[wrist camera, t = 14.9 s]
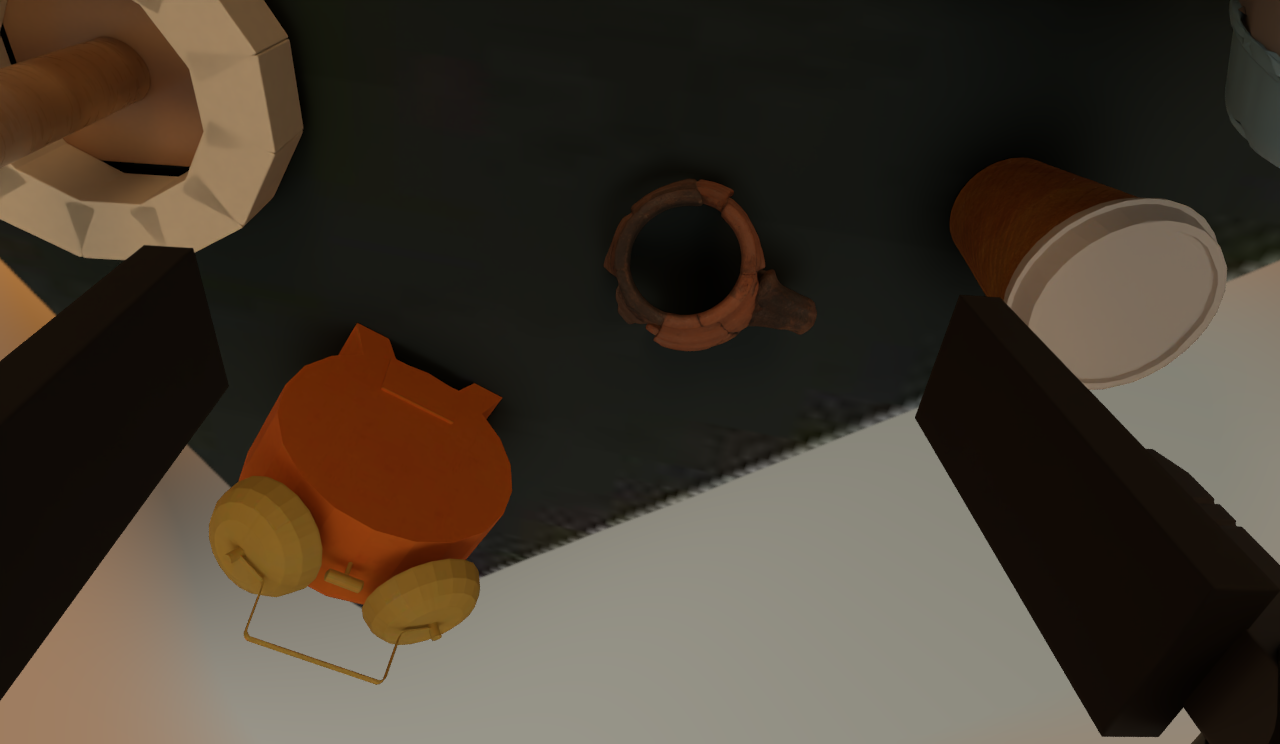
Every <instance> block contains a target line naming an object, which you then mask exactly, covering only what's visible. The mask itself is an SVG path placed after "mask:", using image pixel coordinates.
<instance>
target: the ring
mask: <svg viewBox="0 0 1280 744" xmlns="http://www.w3.org/2000/svg"><path fill="white" fill-rule="evenodd" d="M132 1H134V2H136V3H137V4H139V5H140V6H141V7H142V8H143V10H144V11H145V12H146V13H147V15H148V16H149V17H150V19H151V20H152V21H153V23H154V24H155V25H156V26H157V28H158V29H159V30H160V32H161V33H162V34H163V35H164V37H165V38H166V39H167V41H168V42H169V43H170V45H171V46H172V47H173V48H174V50H175V51H176V52H177V54H178V55H179V56H180V58H181V59H182V60H183V61H184V63H185V64H186V65H187V67H188V68H189V70H190V75H191V79H192V83H193V88H194V92H195V96H196V101H197V105H198V109H199V114H200V118H201V122H202V127H203V131H204V132H203V134H202V137H201V140H200V142H199V145H198V147H197V150H196V153H195V155H194V158H193V161H192V163H191V166H190V168H189V171H188V172H186V173H184V174H183V175H181V176H179V177H176V176H160V175H145V174H130V173H123V172H121V171H119V170H118V169H116V168H114V167H112V166H110V165H108V164H106V163H104V162H102V161H100V160H98V159H96V158H94V157H92V156H91V155H89V154H87V153H85V152H83V151H81V150H79V149H77V148H75V147H73V146H71V145H69V144H67V143H66V142H65V140H64V139H63V138H62V139H60V140H58V141H56V142H54V143H52V144H50V145H48V146H46V147H43V148H41V149H39V150H37V151H35V152H33V153H31V154H29V155H27V156H25V157H23V158H21V159H19V160H17V161H15V162H13V163H11V164H8V165H6V166H4V167H2V168H0V219H1V220H3V221H5V222H7V223H9V224H12V225H14V226H16V227H18V228H20V229H22V230H24V231H26V232H29V233H31V234H33V235H35V236H37V237H39V238H41V239H43V240H45V241H48V242H50V243H52V244H54V245H56V246H58V247H60V248H62V249H64V250H67V251H69V252H71V253H73V254H75V255H77V256H79V257H82V256H83V257H84V258H96V259H114V260H126V259H127V258H129V257H130V256H131V255H132V254H134V253H135V252H136V251H137V250H138V249H140V248H141V247H142V246H143V245H152V246H168V247H185V248H193V249H194V253H195V252H197V251H199V250H201V249H203V248H205V247H207V246H208V245H210V244H212V243H214V242H216V241H218V240H220V239H222V238H224V237H226V236H228V235H230V234H232V233H234V232H235V231H237V230H239V229H241V228H243V227H244V226H245V225H246V224H247V223H248V222H249V221H250V220H251V219H252V218H253V217H254V216H255V215H256V214H257V213H258V212H259V211H260V210H261V209H262V208H263V207H264V206H265V205H266V204H267V203H268V202H269V201H270V200H271V199H272V198H273V197H274V195H275V193H276V191H277V188H278V186H279V184H280V182H281V180H282V177H283V175H284V173H285V171H286V168H287V166H288V164H289V162H290V160H291V157H292V155H293V153H294V151H295V149H296V146H297V144H298V142H299V140H300V138H301V135H302V133H303V131H302V129H303V122H302V115H301V109H300V103H299V97H298V90H297V84H296V78H295V71H294V65H293V59H292V52H291V46H290V40H289V39H286V38H288V35H287V34H286V32H285V31H284V29H283V28H282V26H281V25H280V23H279V22H278V21H277V19H276V18H275V16H274V15H273V13H272V12H271V10H270V9H269V7H268V6H267V4H266V3H265V1H264V0H132ZM6 4H7V0H0V31H1V26H2V22H3V18H4V13H5V9H6ZM10 65H11V63H10V60H9V57H8V54H7V51H6V49H5V46H4V43H3V40H2V37H1V35H0V68H3V67H7V66H10Z"/></svg>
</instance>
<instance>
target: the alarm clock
mask: <svg viewBox="0 0 1280 744" xmlns="http://www.w3.org/2000/svg"><path fill="white" fill-rule="evenodd" d="M501 399H502V397H500V396H498V395H496V394H494V393H492V392H490V391H489V390H487V389H485V388H483V387H481V386H479V385H477V384H475V383H474V384H472V385H470V386H468V387H466V388H464V389H462V390H460V391H458V390H456V389H454V388H452V387H450V386H448V385H447V384H445V383H443V382H442V381H440V380H439V379H437V378H435V377H434V376H432V375H431V374H429V373H427V372H424V371H422V370H419V369H417V368H414V367H412V366H409V365H407V364H405V363H403V362H401V361H399V360H397V359H396V357H395V355H394V352H393V349H392V346H391V343H390V340H389V339H388V338H386V337H384V336H382V335H380V334H378V333H376V332H374V331H372V330H370V329H368V328H366V327H365V326H363V325H361V324H359V323H357V324H356V326H355V327H354V329H353V331H352V332H351V334H350V336H349V338H348V339H347V341H346V343H345V344H344V346H343V348H342V350H341V351H340V353H339V355H338V356H330V357H327V358H325V359H322V360H319V361H317V362H314V363H311V364H309V365H306V366H304V367H303V368H302V369H301V370H300V371H299V372H298V373H297V374H296V375H295V376H294V377H293V378H292V379H291V380H290V381H289V382H288V383H287V384H286V385H285V387H284V388H283V390H282V392H281V394H280V396H279V397H278V399H277V401H276V403H275V405H274V406H273V408H272V410H271V412H270V414H269V415H268V417H267V419H266V421H265V423H264V424H263V426H262V428H261V430H260V432H259V433H258V435H257V437H256V439H255V441H254V442H253V444H252V446H251V448H250V450H249V451H248V454H247V457H246V460H245V463H244V466H243V469H242V472H241V475H240V478H239V482H238V483H236V484H235V485H234V486H233V487H231V488H230V489H229V490H228V491H227V492H226V493H224V495H223V496H222V497H221V498H220V499H219V500H218V501H217V504H216V506H215V509H214V511H213V514H212V517H211V521H210V523H209V540H210V543H211V547H212V551H213V554H214V556H215V558H216V560H217V562H218V564H219V566H220V567H221V569H222V570H223V571H224V572H225V574H226V575H227V576H228V578H229V579H230V580H232V581H233V582H234V583H235V584H236V585H238V586H239V587H240V588H242V589H244V590H246V591H248V592H250V593H253V594H258V597H257V599H256V602H255V604H254V607H253V610H252V612H251V615H250V618H249V620H248V623H247V626H246V628H245V631H244V637H245V639H246V640H247V641H249V642H252V643H255V644H258V645H261V646H264V647H267V648H270V649H273V650H276V651H279V652H282V653H285V654H288V655H290V656H294V657H296V658H300V659H302V660H305V661H308V662H311V663H314V664H317V665H320V666H323V667H326V668H329V669H332V670H335V671H338V672H341V673H344V674H347V675H350V676H353V677H356V678H358V679H362V680H365V681H368V682H370V683H373V684H376V685H377V684H380V683H382V682H383V680H384V679H385V678H386V677H387V674H388V671H389V668H390V665H391V662H392V659H393V657H394V654H395V651H396V648H397V645H405V644H413V643H417V642H421V641H425V640H429V639H432V641H435V640H438V639H440V638H441V634H443V633H445V632H447V631H448V630H450V629H452V628H453V627H455V626H456V625H458V624H459V623H461V622H462V621H463V620H464V619H465V618H466V617H467V616H469V615H470V613H471V612H472V610H473V609H474V607H475V604H476V602H477V599H478V596H479V591H480V584H479V583H480V582H479V572H478V569H477V568H476V566H475V565H474V563H471V562H469V561H466V559H467V557H468V556H469V555H470V554H471V553H472V551H473V550H474V549H475V548H476V547H477V545H478V544H479V543H480V542H481V541H482V539H483V538H484V537H485V536H486V534H487V533H488V532H489V531H490V530H491V528H492V527H493V526H494V525H495V524H496V522H497V521H498V520H499V519H500V518H501V516H502V515H503V513H504V511H505V508H506V506H507V503H508V500H509V498H510V495H511V492H512V482H511V465H510V462H509V460H508V457H507V455H506V452H505V450H504V447H503V445H502V442H501V440H500V438H499V437H498V435H497V434H496V432H495V431H494V430H493V428H492V427H491V426H490V424H489V423H488V421H487V420H486V419H487V418H488V416H489V415H490V414H491V412H492V411H493V410H494V408H495V407H496V406H497V404H498V403H499V402H500V400H501ZM307 586H309V587H310V588H312V589H314V590H316V591H318V592H320V593H322V594H324V595H326V596H329V597H333V598H338V599H341V600H346V601H350V602H354V603H359V604H363V607H362V612H363V618H364V620H365V622H366V623H367V625H368V627H369V628H370V630H371V631H372V633H374V634H375V635H376V636H377V637H379V638H381V639H382V640H384V641H386V642H388V643H391V644H395V647H394V649H393V652H392V655H391V658H390V661H389V664H388V667H387V669H386V672H385V675H384V678H383V679H382V680H377V679H374V678H371V677H368V676H365V675H362V674H359V673H356V672H353V671H350V670H347V669H344V668H342V667H338V666H336V665H333V664H330V663H327V662H324V661H321V660H318V659H315V658H312V657H309V656H306V655H303V654H300V653H298V652H295V651H292V650H289V649H286V648H283V647H280V646H277V645H274V644H271V643H268V642H265V641H262V640H259V639H257V638H254V637H250V636H249V634H248V632H247V629H248V626H249V623H250V620H251V618H252V615H253V613H254V610H255V607H256V604H257V602H258V599H259V596H260V595H264V596H271V597H279V596H282V595H285V594H289V593H292V592H295V591H298V590H301V589H304V588H306V587H307Z"/></svg>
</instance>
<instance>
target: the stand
mask: <svg viewBox="0 0 1280 744" xmlns="http://www.w3.org/2000/svg"><path fill="white" fill-rule="evenodd" d="M3 25H4V28H5V31H6V34H7V37H8V40H9V43H10V46H11V48H12V51H13V54H14V57H15V60H16V64H13V65H10V66H7V67H3V68H0V168H2V167H4V166H6V165H8V164H11V163H13V162H15V161H17V160H19V159H21V158H23V157H25V156H27V155H29V154H31V153H33V152H35V151H37V150H39V149H41V148H43V147H46V146H48V145H50V144H52V143H54V142H56V141H58V140H60V139H62V138H63V139H64V140H65V142H66V143H67V144H69V145H71V146H73V147H75V148H77V149H79V150H81V151H83V152H85V153H87V154H89V155H91V156H92V157H94V158H96V159H98V160H101V161H116V162H130V163H144V164H158V165H173V166H187V167H190V166H191V163H192V161H193V158H194V155H195V153H196V150H197V147H198V145H199V142H200V140H201V137H202V134H203V132H204V131H203V127H202V122H201V118H200V114H199V109H198V105H197V101H196V96H195V92H194V88H193V83H192V79H191V75H190V70H189V68H188V67H187V65H186V64H185V63H184V61H183V60H182V59H181V58H180V56H179V55H178V54H177V52H176V51H175V50H174V48H173V47H172V46H171V45H170V43H169V42H168V41H167V39H166V38H165V37H164V35H163V34H162V33H161V32H160V30H159V29H158V28H157V26H156V25H155V24H154V23H153V21H152V20H151V19H150V17H149V16H148V15H147V13H146V12H145V11H144V10H143V8H142V7H141V6H140V5H139V4H137V3H136V2H134V1H132V0H7V4H6V9H5V13H4V18H3Z"/></svg>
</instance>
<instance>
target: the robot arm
mask: <svg viewBox="0 0 1280 744" xmlns="http://www.w3.org/2000/svg"><path fill="white" fill-rule="evenodd" d="M1229 16H1230V22H1231V26H1232V28H1233V35H1232V42H1231V50H1230V57H1229V64H1228V71H1227V79H1226V86H1225V103H1226V108H1227V112H1228V115H1229V118H1230V120H1231V123H1232V124H1233V126H1234V127H1235V128H1236V129H1237V130H1238V132H1239V133H1240V134H1241V135H1242V136H1243V137H1244V138H1246V139H1247V140H1248V142H1249V144H1250V146H1251V147H1252V149H1253V150H1254V151H1255V152H1257V153H1258V154H1259V155H1260V156H1262V157H1263V158H1265V159H1266V160H1268V161H1269V162H1271V163H1272V164H1274V165H1275V166H1277V167H1278V168H1280V0H1230V2H1229ZM228 387H229V385H228V381H227V377H226V373H225V369H224V366H223V362H222V358H221V354H220V350H219V346H218V342H217V338H216V334H215V331H214V327H213V323H212V319H211V315H210V311H209V307H208V303H207V300H206V296H205V292H204V288H203V284H202V280H201V276H200V272H199V268H198V265H197V261H196V257H195V253H194V249H193V248H185V247H168V246H152V245H143V246H142V247H141V248H140V249H138V250H137V251H136V252H135V253H134V254H132V255H131V256H130V257H129V258H127V259H126V260H125V261H124V262H122V263H121V264H120V265H119V266H117V267H116V268H115V269H114V270H112V271H111V272H110V273H109V274H108V275H106V276H105V277H104V278H103V279H101V280H100V281H99V282H98V283H96V284H95V285H94V286H93V287H91V288H90V289H89V290H88V291H86V292H85V293H84V294H83V295H82V296H80V297H79V298H78V299H77V300H75V301H74V302H73V303H72V304H70V305H69V306H68V307H67V308H65V309H64V310H63V311H62V312H60V313H59V314H58V315H57V316H56V317H54V318H53V319H52V320H51V321H49V322H48V323H47V324H46V325H44V326H43V327H42V328H41V329H40V330H38V331H37V332H36V333H35V334H33V335H32V336H31V337H30V338H28V339H27V340H26V341H25V342H23V343H22V344H21V345H20V346H18V347H17V348H16V349H15V350H13V351H12V352H11V353H10V354H8V355H7V356H6V357H5V358H4V359H2V360H1V361H0V700H1V699H2V698H3V696H4V695H5V693H6V692H7V691H8V689H9V688H10V687H11V685H12V684H13V682H14V681H15V680H16V678H17V677H18V676H19V674H20V673H21V671H22V670H23V669H24V667H25V666H26V665H27V663H28V662H29V660H30V659H31V658H32V656H33V655H34V653H35V652H36V651H37V649H38V648H39V647H40V645H41V644H42V643H43V641H44V640H45V638H46V637H47V636H48V634H49V633H50V632H51V630H52V629H53V627H54V626H55V625H56V623H57V622H58V621H59V619H60V618H61V616H62V615H63V614H64V612H65V611H66V610H67V608H68V607H69V605H70V604H71V603H72V601H73V600H74V599H75V597H76V596H77V594H78V593H79V591H80V590H81V589H82V587H83V586H84V585H85V583H86V582H87V581H88V579H89V578H90V576H91V575H92V574H93V572H94V571H95V570H96V568H97V567H98V566H99V564H100V563H101V561H102V560H103V559H104V557H105V556H106V555H107V553H108V552H109V550H110V549H111V548H112V546H113V545H114V544H115V542H116V541H117V539H118V538H119V537H120V535H121V534H122V532H123V531H124V530H125V528H126V527H127V525H128V524H129V523H130V522H131V520H132V519H133V517H134V516H135V514H136V513H137V512H138V510H139V509H140V508H141V506H142V505H143V504H144V502H145V501H146V500H147V498H148V497H149V495H150V494H151V493H152V491H153V490H154V489H155V487H156V486H157V484H158V483H159V482H160V480H161V479H162V478H163V476H164V475H165V473H166V472H167V471H168V469H169V468H170V467H171V465H172V464H173V462H174V461H175V460H176V458H177V457H178V456H179V454H180V453H181V451H182V450H183V449H184V447H185V446H186V445H187V443H188V442H189V440H190V439H191V438H192V436H193V435H194V434H195V432H196V431H197V429H198V428H199V427H200V425H201V424H202V423H203V421H204V420H205V418H206V417H207V416H208V414H209V413H210V412H211V410H212V409H213V407H214V406H215V405H216V403H217V402H218V401H219V399H220V398H221V396H222V395H223V394H224V392H225V391H226V390H227V388H228ZM915 419H916V420H917V422H918V424H919V426H920V427H921V429H922V430H923V432H924V434H925V436H926V437H927V439H928V441H929V443H930V444H931V446H932V448H933V449H934V451H935V453H936V455H937V456H938V458H939V460H940V461H941V463H942V465H943V466H944V468H945V470H946V472H947V473H948V475H949V477H950V478H951V480H952V482H953V484H954V485H955V487H956V488H957V490H958V492H959V494H960V495H961V497H962V499H963V500H964V502H965V504H966V506H967V507H968V509H969V511H970V512H971V514H972V516H973V518H974V519H975V521H976V523H977V524H978V526H979V528H980V530H981V531H982V533H983V535H984V536H985V538H986V540H987V541H988V543H989V545H990V547H991V548H992V550H993V552H994V553H995V555H996V557H997V558H998V560H999V562H1000V564H1001V565H1002V567H1003V569H1004V571H1005V572H1006V574H1007V576H1008V577H1009V579H1010V581H1011V582H1012V584H1013V586H1014V588H1015V589H1016V591H1017V592H1018V594H1019V596H1020V598H1021V599H1022V601H1023V603H1024V605H1025V606H1026V608H1027V610H1028V611H1029V613H1030V615H1031V617H1032V618H1033V620H1034V622H1035V623H1036V625H1037V627H1038V629H1039V630H1040V632H1041V634H1042V635H1043V637H1044V639H1045V640H1046V642H1047V644H1048V645H1049V647H1050V649H1051V651H1052V652H1053V654H1054V656H1055V658H1056V659H1057V661H1058V662H1059V664H1060V666H1061V668H1062V669H1063V671H1064V673H1065V674H1066V676H1067V678H1068V680H1069V681H1070V683H1071V685H1072V687H1073V688H1074V690H1075V692H1076V693H1077V695H1078V697H1079V698H1080V700H1081V702H1082V704H1083V705H1084V707H1085V708H1086V710H1087V712H1088V714H1089V716H1090V717H1091V719H1092V721H1093V722H1094V724H1095V726H1096V727H1097V729H1098V731H1099V732H1100V734H1101V736H1104V737H1106V736H1107V737H1108V736H1110V737H1114V736H1115V737H1159V736H1160V735H1161V734H1162V732H1163V731H1164V730H1165V729H1166V727H1167V726H1168V725H1169V724H1170V723H1171V722H1172V720H1173V719H1174V718H1175V717H1176V716H1177V714H1178V713H1179V712H1180V711H1181V709H1182V708H1183V707H1184V709H1185V710H1186V711H1187V713H1188V714H1189V716H1190V717H1191V719H1192V720H1193V722H1194V723H1195V724H1196V726H1197V727H1198V729H1199V730H1200V731H1201V733H1200V734H1199V736H1198V737H1197V738H1196V739H1195V740H1194V741H1193V742H1192V743H1191V744H1280V565H1279V564H1278V563H1277V562H1276V561H1275V560H1274V559H1273V558H1272V557H1271V556H1270V555H1269V554H1268V553H1267V552H1266V551H1265V550H1264V549H1263V548H1262V547H1261V546H1260V545H1259V544H1258V543H1257V542H1256V541H1255V540H1254V539H1253V538H1252V537H1251V536H1250V534H1249V533H1247V532H1246V530H1245V529H1243V528H1242V527H1237V526H1236V520H1235V519H1234V518H1233V517H1232V516H1230V515H1229V513H1228V512H1227V511H1226V510H1225V509H1224V508H1223V507H1222V506H1221V505H1220V504H1214V498H1213V497H1212V496H1211V495H1210V494H1209V493H1208V492H1207V491H1206V490H1205V489H1204V488H1203V487H1202V486H1201V485H1200V484H1199V483H1198V482H1197V481H1196V480H1195V479H1194V478H1193V477H1192V476H1191V475H1190V474H1189V473H1188V472H1186V471H1185V470H1183V469H1181V468H1180V467H1179V466H1177V465H1176V464H1174V463H1173V462H1171V461H1170V460H1168V459H1167V458H1165V457H1164V456H1162V455H1161V454H1159V453H1158V452H1156V451H1155V450H1153V449H1145V448H1144V447H1143V446H1142V445H1141V444H1140V443H1139V442H1138V441H1137V440H1136V439H1135V438H1134V436H1132V434H1130V432H1129V431H1128V430H1127V429H1126V428H1125V427H1124V426H1123V425H1122V424H1121V423H1120V422H1119V421H1118V420H1117V419H1116V418H1115V417H1114V416H1113V415H1112V414H1111V412H1110V411H1109V410H1108V409H1107V408H1106V407H1105V406H1104V405H1103V404H1102V403H1101V402H1100V401H1099V400H1098V399H1097V398H1096V397H1095V396H1094V395H1093V394H1092V393H1091V392H1090V391H1089V389H1088V388H1087V387H1086V386H1085V385H1084V384H1083V383H1082V382H1081V381H1080V380H1079V379H1078V378H1077V377H1076V376H1075V375H1074V374H1073V373H1072V372H1071V371H1070V370H1069V369H1068V368H1067V367H1066V365H1065V364H1064V363H1063V362H1062V361H1061V360H1060V359H1059V358H1058V357H1057V356H1056V355H1055V354H1054V353H1053V352H1052V351H1051V350H1050V349H1049V348H1048V347H1047V346H1046V345H1045V344H1044V342H1043V341H1042V340H1041V339H1040V338H1039V337H1038V336H1037V335H1036V334H1035V333H1034V332H1033V331H1032V330H1031V329H1030V328H1029V327H1028V326H1027V325H1026V324H1025V323H1024V322H1023V321H1022V320H1021V318H1020V317H1019V316H1018V315H1017V314H1016V313H1015V312H1014V311H1013V310H1012V309H1011V308H1010V307H1009V306H1008V305H1007V304H1006V303H1005V302H1004V301H1003V300H1002V299H1001V298H1000V297H985V296H969V295H959V298H958V301H957V304H956V306H955V309H954V312H953V315H952V317H951V320H950V323H949V326H948V328H947V331H946V334H945V337H944V339H943V342H942V345H941V348H940V350H939V353H938V356H937V358H936V361H935V364H934V367H933V369H932V372H931V375H930V378H929V380H928V383H927V386H926V389H925V391H924V394H923V397H922V400H921V402H920V405H919V408H918V411H917V413H916V416H915Z"/></svg>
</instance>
